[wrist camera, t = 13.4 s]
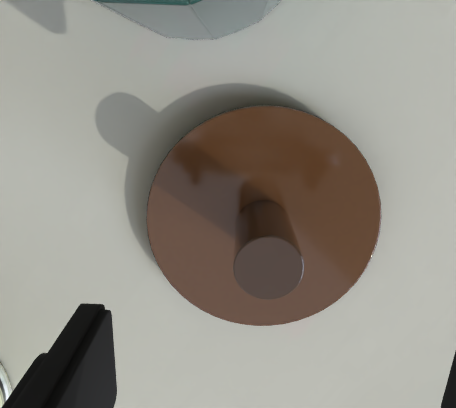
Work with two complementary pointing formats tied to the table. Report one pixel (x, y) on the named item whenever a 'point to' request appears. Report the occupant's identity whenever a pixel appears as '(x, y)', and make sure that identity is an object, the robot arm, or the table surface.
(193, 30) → the canister
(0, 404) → the coffee can
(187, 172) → the lid
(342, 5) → the table surface
